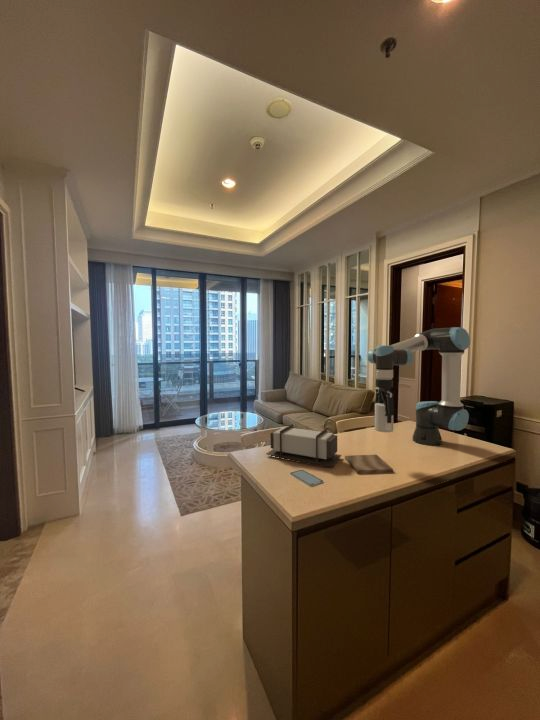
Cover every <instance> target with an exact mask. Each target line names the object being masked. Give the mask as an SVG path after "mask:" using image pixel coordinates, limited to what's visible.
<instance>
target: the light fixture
mask: <svg viewBox="0 0 540 720" xmlns="http://www.w3.org/2000/svg"><path fill="white" fill-rule="evenodd" d="M269 436H270V449H271V450H269V451H268V452H266V454H265V455H268V456H270V455H271V456H275V457H279V458H278V459H280V458H284V459H283V460H285V459H290V460H294V461H293V462H296V461H299V462H298V463H301V462H302V463H303V464H308V465H312V466H318V467H324V468H331V467H333V466H334V465H335V464H336V463H337V462H338V461H339V459H340V458H341V457H342V454H338V453H337V452H338V435H337V434H334V432H328V428H324V430H322V431H317V430H311V429H303V428H295V427H294V424H293V423H292V424H290V425H289V426H283V427H279V428H277V429H275V430H274V431H272V432H270V435H269ZM290 460H289V461H290Z"/></svg>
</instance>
